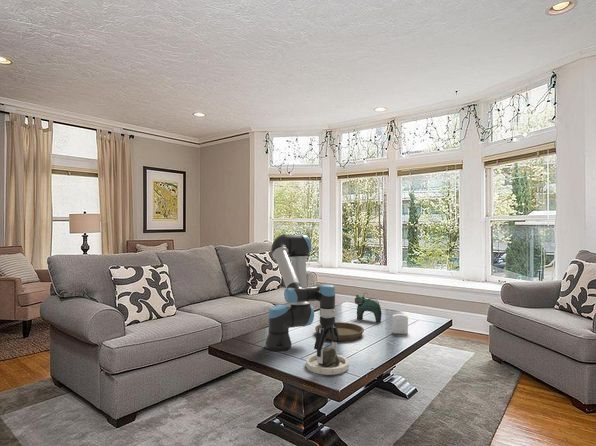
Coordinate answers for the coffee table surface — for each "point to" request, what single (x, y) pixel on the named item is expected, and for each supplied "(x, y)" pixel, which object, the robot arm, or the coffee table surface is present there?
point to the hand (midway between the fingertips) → (327, 358)
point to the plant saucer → (345, 331)
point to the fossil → (329, 358)
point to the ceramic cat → (368, 307)
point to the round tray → (332, 370)
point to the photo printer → (400, 324)
